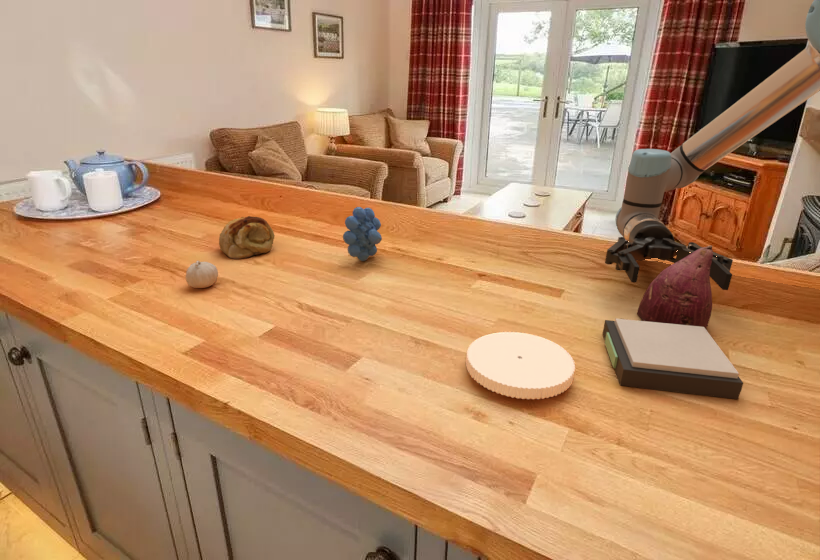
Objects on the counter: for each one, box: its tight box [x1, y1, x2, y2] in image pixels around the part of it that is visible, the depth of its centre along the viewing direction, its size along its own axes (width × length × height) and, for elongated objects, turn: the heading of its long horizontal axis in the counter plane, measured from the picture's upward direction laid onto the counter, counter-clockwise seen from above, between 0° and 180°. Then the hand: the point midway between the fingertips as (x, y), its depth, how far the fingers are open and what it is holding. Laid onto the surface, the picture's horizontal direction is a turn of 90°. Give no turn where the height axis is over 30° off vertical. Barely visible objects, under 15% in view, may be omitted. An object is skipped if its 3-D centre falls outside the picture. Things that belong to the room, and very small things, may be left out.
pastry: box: [218, 215, 275, 260], centre depth 109 cm, size 14×12×8 cm
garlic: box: [185, 260, 219, 289], centre depth 90 cm, size 6×5×5 cm
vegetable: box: [637, 244, 714, 330], centre depth 78 cm, size 10×10×15 cm
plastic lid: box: [465, 331, 576, 400], centre depth 65 cm, size 14×14×2 cm
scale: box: [602, 318, 744, 400], centre depth 68 cm, size 14×14×3 cm
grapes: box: [342, 206, 383, 262], centre depth 101 cm, size 12×7×12 cm, turn 147°
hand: (680, 278), depth 78 cm, fingers open, 13 cm apart
